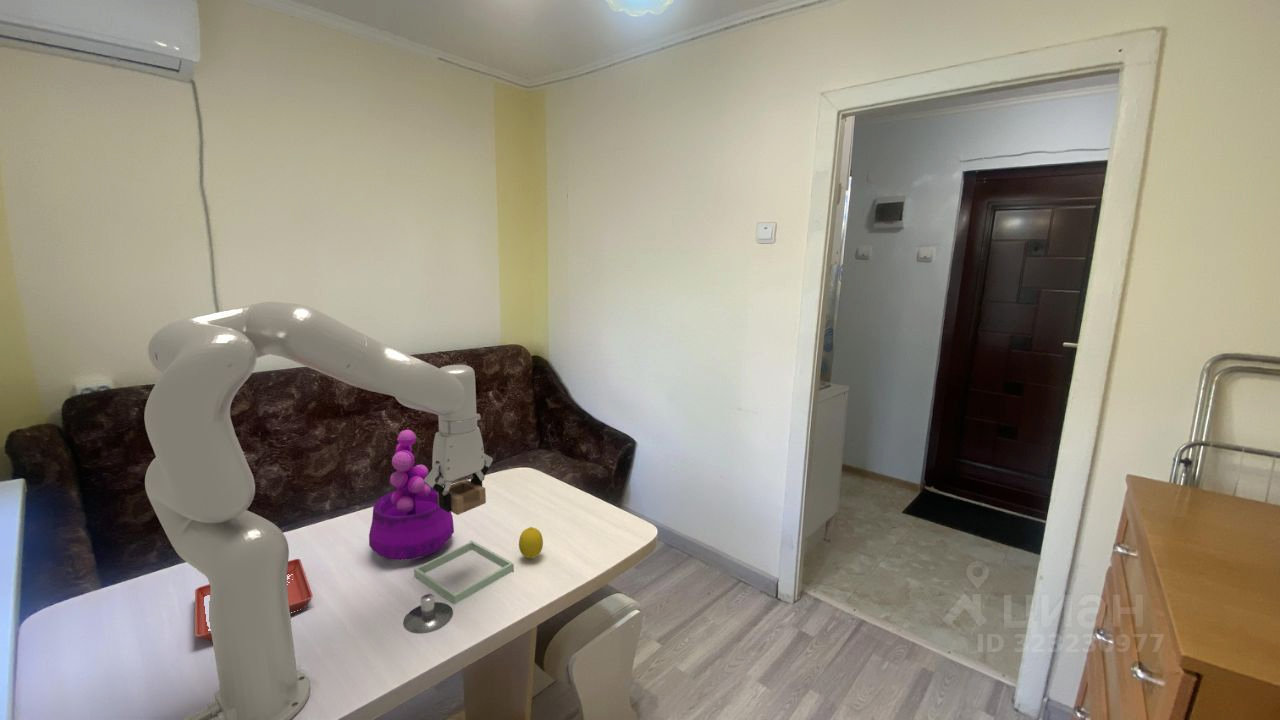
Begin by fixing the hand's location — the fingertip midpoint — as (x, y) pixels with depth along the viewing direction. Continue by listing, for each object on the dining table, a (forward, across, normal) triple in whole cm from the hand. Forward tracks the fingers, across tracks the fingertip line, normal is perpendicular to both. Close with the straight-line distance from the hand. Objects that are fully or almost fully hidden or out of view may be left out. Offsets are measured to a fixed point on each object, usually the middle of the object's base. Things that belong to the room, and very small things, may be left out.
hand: (461, 502), depth 113 cm
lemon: (+18, -14, +6) cm, 23 cm away
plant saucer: (+18, +32, -24) cm, 44 cm away
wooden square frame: (0, 0, 0) cm, 0 cm away
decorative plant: (+18, +1, -19) cm, 26 cm away
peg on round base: (+18, +13, +7) cm, 23 cm away
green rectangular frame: (+18, 0, 0) cm, 18 cm away
